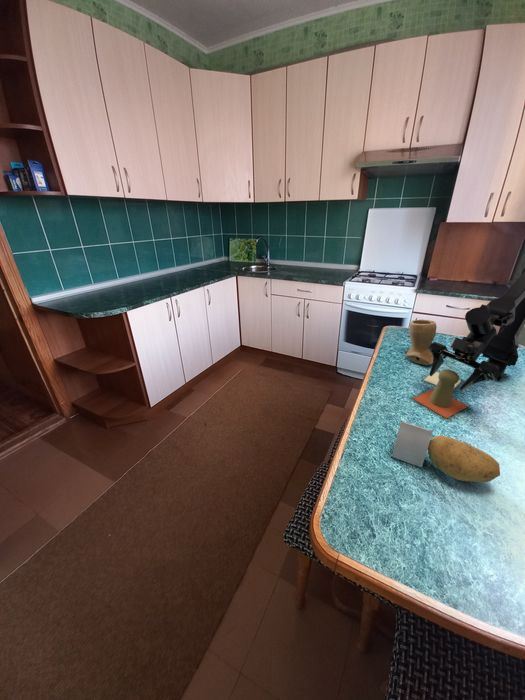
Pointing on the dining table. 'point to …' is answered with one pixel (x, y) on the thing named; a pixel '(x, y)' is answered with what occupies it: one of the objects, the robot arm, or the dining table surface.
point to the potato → (462, 460)
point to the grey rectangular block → (412, 443)
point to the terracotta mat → (443, 412)
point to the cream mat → (436, 379)
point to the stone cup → (421, 341)
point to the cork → (444, 389)
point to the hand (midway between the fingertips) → (444, 382)
